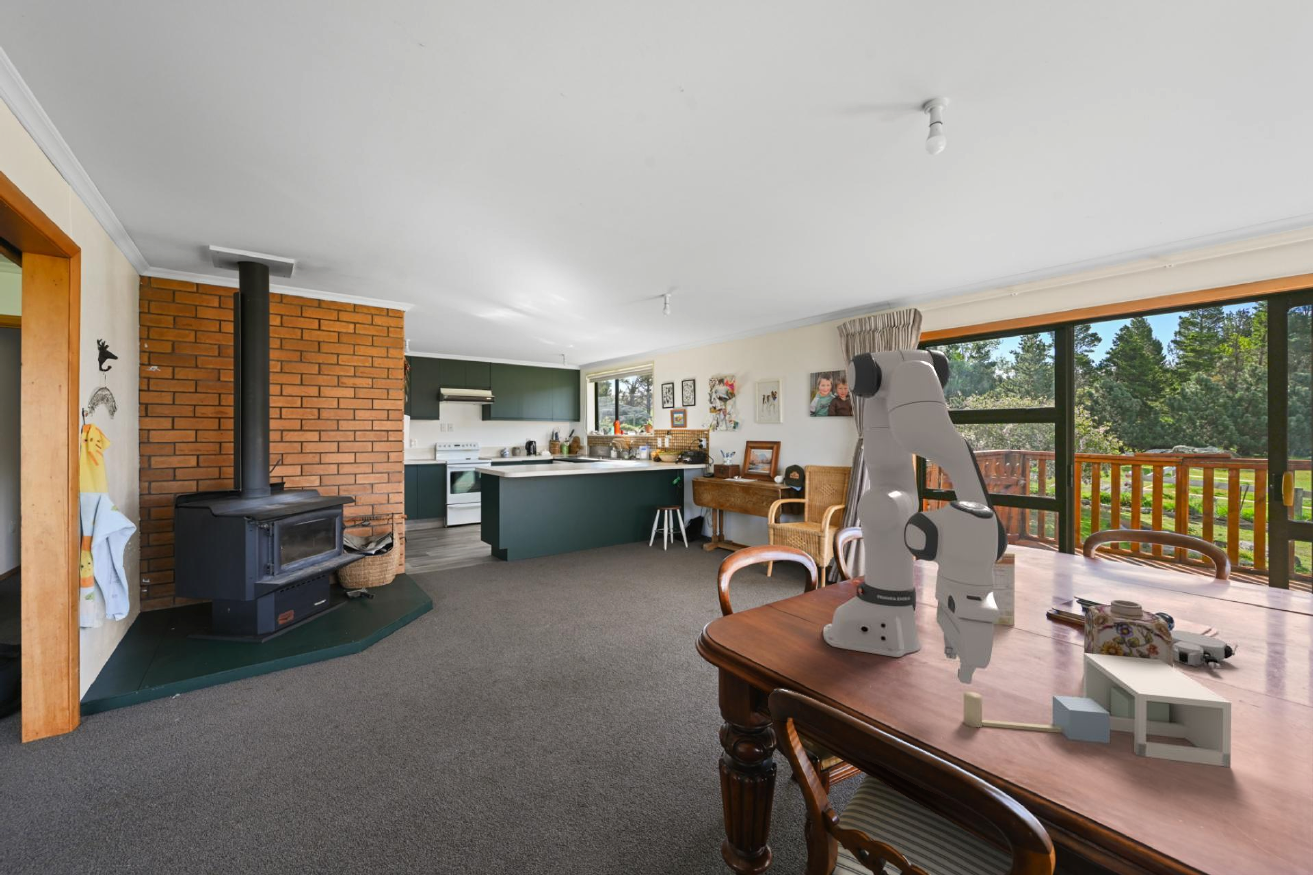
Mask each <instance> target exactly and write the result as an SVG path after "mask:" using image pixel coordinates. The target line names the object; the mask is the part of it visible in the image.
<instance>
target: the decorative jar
mask: <svg viewBox="0 0 1313 875" xmlns="http://www.w3.org/2000/svg"><path fill="white" fill-rule="evenodd" d="M1083 636H1084V639H1083V640H1084V641H1083V654H1084V653H1089V654H1100V655H1112V656H1124V657H1135V658H1147V659H1159V660H1161V661H1163V662H1164V663H1166V664H1168V665H1169V666H1171V667H1173V668H1174V658H1173V640H1172V637H1171V633H1170V630H1169V626H1168V623H1167V621H1166V620H1165V619H1164V618H1163V617H1162V616H1160V615H1157V614H1154V613H1152V612H1150V611H1146V610H1145V609H1143V607H1142V604H1140V603H1138V602H1135V601H1129V600H1122V599H1113V600H1111V601H1110V604H1098V605H1090V606H1088V608H1087V610H1086V611H1085V614H1084V635H1083Z"/></svg>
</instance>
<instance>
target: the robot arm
mask: <svg viewBox="0 0 1313 875" xmlns="http://www.w3.org/2000/svg"><path fill="white" fill-rule="evenodd" d="M950 366H951V365H950V362H949V359H948V357H947V356H946V354H945V353H944V352H942V351H940V350H936V349H931V348H930V349H929V348H926V349H924V350H923V349H913V348H912V349H911V348H909V349H908V348H904V349H901V348H900V349H898V348H897V349H895V350H883V351H876V352H868V351H867V352H863V353H859V354H856V355H854V356H853V357H852V358H851V359H850V361H849V363H848V367H847V370H846V375H845V376H846V382H847V386H848V389H849V392H850V393H852V395H853V396H855V397H858V398H862V399H864V405H863V411H862V412H863V413H862V439H863V440H862V442H863V443H862V444H863V445H862V446H863V461H864V464H865V467H866V469H867V474H868V480H869V484H870V486H869V487H870V488H869V489H867V490H866V491H865V492H863V493H862V496H861V497H860V499H858V500H859V501H858V503H857V506H856V514H857V517H858V520H859V521H860V523H859V524H860V530H861V534H862V536H861V537H862V541H863V548H864V581H862V582H861V581H860V580H858V579H854V580H853V581H852V587H853V589H855V591H856V592H855V596H854V597H852V598H851V599H849V600H848V601H846V602H845V603H843V604H841V605H839V606H838V607H837V608H836V609H835V611H834V613H833V617H832V621H831V622H832V623H827V624H826V625H825V626H824V627H823V629H822V630H823V631H822V636H823V639H824V641H825V642H826V643H827V644H829V645H830V646H832V647H833V648H838V649H843V650H851V651H857V652H863V653H870V654H876V655H881V656H888V657H895V658H900V657H903V656H904V655H906V654H910V653H914V652H917V651H919V650H920V649H921V648H922V644H921V642H920V638H919V634H918V630H917V629H918V628H917V624H916V615H915V611H916V607H917V592H916V587H915V586H914V583H915V582H914V580H915V578H914V576H915V575H914V567H915V566H914V565H915V564H914V563H915V560H914V558H916V559H919V560H923V561H926V562H935V563H937V566H938V569H937V572H936V584H935V594H934V598H935V599H936V600H937V608H936V622H937V624H938V626H939V627H940V630H941V631H942V632H943V633H942V635H943V636H942V637H943V642H944V643H943V645H944V649H943V650H944V651H943V654H944V655H945V657H946V659H952V660H956V659H957V657H958V659H959V663H960V666H959V668H958V669H957V679H958V681H959V682H960V683H961V684H966V685H970V684H972V680H973V674H974V673H975V671H976V669H982V670H984V669H986V668H987V667H988V666H989V665H990V662H991V657H992V656H991V655H992V652H993V646H994V637H995V626H994V624H993V622H994V623H998V621H999V610H998V607H997V605H996V602H995V599H994V576H993V566H994V563H996V562H997V561H998V560H999V559H1000V558H1001V557H1002V556H1003V554H1004V553H1005V551H1007V549H1008V546H1009V538H1008V533H1007V530H1006V528H1005V525H1004V524H1003V522H1002V520H1001V519H1000V517H999V515H998V513H997V511H996V509H995V507H994V504H993V502H992V499H991V496H990V494H989V490H988V487H987V485H986V482H985V480H984V477H983V475H982V474H983V473H982V471H981V467H980V465H979V461H978V460H977V457H976V454H975V452H974V450H973V448H972V446H971V444H970V443H969V441H968V440H967V438H965V437H964V436H963V435H961V433H960V432H959V431H958V430H957V429H956V427H955V425H954V423H953V422H952V419H951V417H950V415H949V411H948V407H947V402H946V398H945V394H944V391H943V390H944V388H945V387H946V386H947V385H948V383H949V379H950V373H951V372H950V371H951V369H950ZM913 455H915V456H918V457H921V458H924V459H925V460H928V461H930V462H932V463H933V464H936V465H937V466H938V467H940V468H942V469H943V471H944V472H945V473H946V474H947V475H948V477H949V478H950V482H951V484H952V487H953V489H954V493H955V496H956V499H957V500H950V501H949V502H947V503H946V504H945V505H944V506H943V507H940V508H938V509H932V510H924V511H919V509H920V508H919V507H920V501H919V494H918V485H917V479H916V473H915V472H916V471H915V467H914V466H915V465H914V460H913V459H914V458H913Z"/></svg>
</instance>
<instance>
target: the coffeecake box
mask: <svg viewBox="0 0 1313 875" xmlns="http://www.w3.org/2000/svg"><path fill="white" fill-rule="evenodd" d="M1015 561H1016V554H1015V553H1013V552H1011V551H1008V550H1006V551H1005V553H1004V554H1003V556H1002V557H1001V558H1000V559H999V560H998V561H997V562H996V563H994V566H993V576H994V599H995V602H996V605H997V607H998V610H999V621H998V623H994V622H993V624H994V625H995V626H1013V627H1014V626H1015V596H1016V595H1015V592H1016V591H1015V590H1016V589H1015V585H1016V584H1015V583H1016V582H1015V581H1016V580H1015V579H1016V577H1015V576H1016V575H1015V574H1016V573H1015V569H1016V568H1015V567H1016V562H1015Z"/></svg>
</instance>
